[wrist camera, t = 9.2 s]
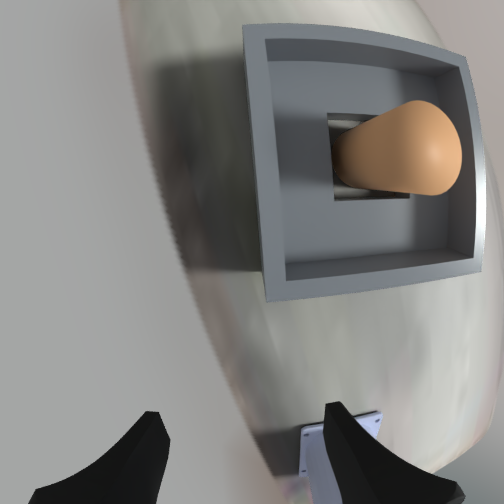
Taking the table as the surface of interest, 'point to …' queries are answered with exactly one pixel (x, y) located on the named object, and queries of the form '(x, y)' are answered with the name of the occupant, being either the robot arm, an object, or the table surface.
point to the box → (320, 164)
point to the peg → (400, 151)
